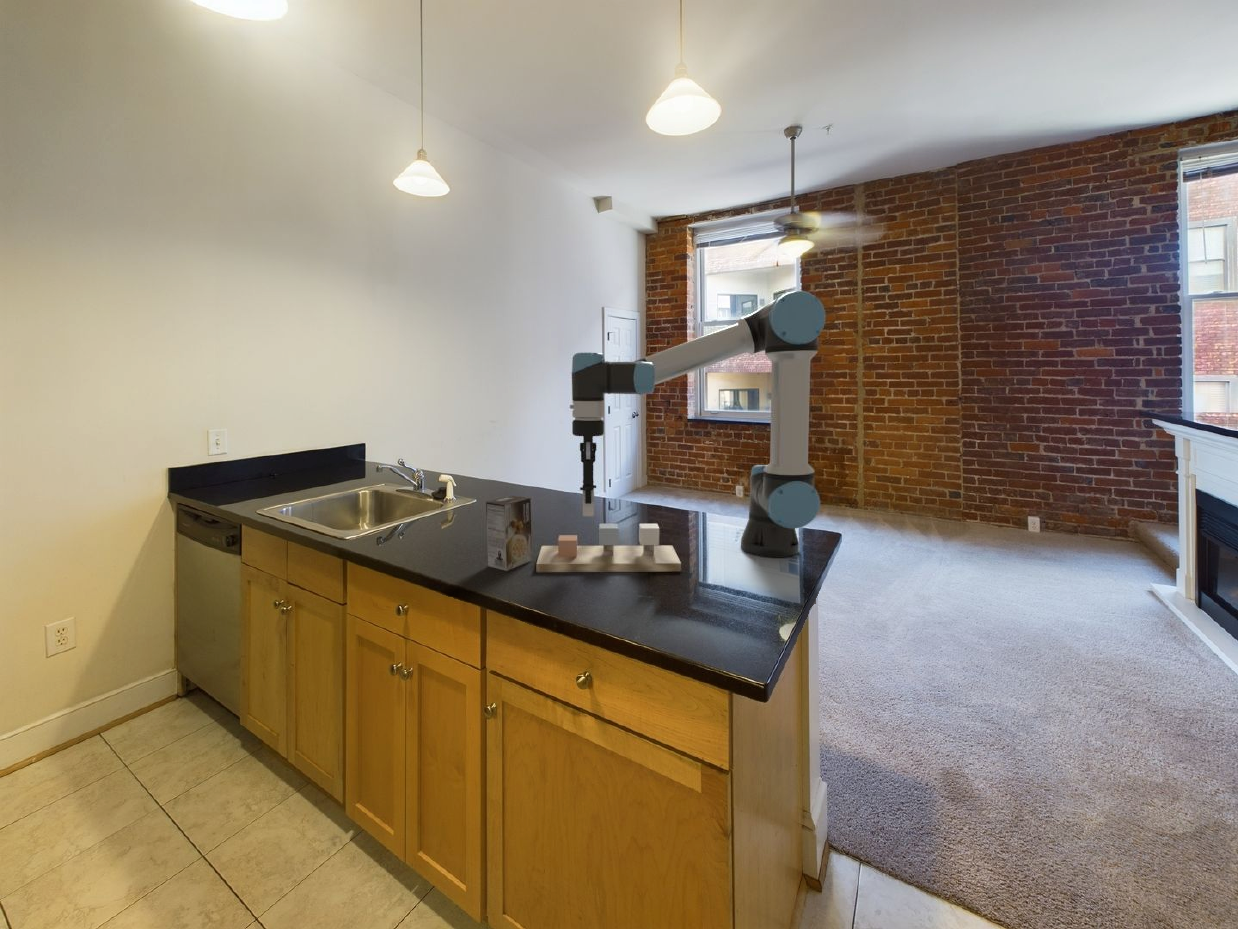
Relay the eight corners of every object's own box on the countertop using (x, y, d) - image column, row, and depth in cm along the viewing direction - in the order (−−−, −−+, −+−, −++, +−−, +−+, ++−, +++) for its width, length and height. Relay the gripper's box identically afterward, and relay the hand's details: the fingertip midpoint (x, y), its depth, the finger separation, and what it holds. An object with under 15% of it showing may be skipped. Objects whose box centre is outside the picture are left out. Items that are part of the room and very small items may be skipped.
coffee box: (513, 556, 136) (512, 494, 133) (532, 561, 132) (531, 497, 130) (486, 566, 128) (485, 501, 126) (506, 571, 125) (505, 504, 122)
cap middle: (617, 539, 134) (617, 523, 133) (618, 545, 130) (618, 528, 129) (599, 539, 134) (599, 523, 133) (599, 545, 129) (599, 528, 129)
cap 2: (656, 539, 135) (657, 523, 134) (658, 545, 130) (659, 528, 130) (638, 539, 134) (639, 523, 134) (640, 545, 130) (640, 528, 129)
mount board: (672, 552, 140) (672, 534, 140) (680, 571, 126) (681, 551, 126) (542, 553, 138) (541, 534, 138) (536, 572, 125) (536, 551, 124)
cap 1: (577, 551, 134) (577, 535, 133) (576, 557, 130) (576, 540, 129) (559, 551, 134) (559, 535, 133) (558, 557, 129) (558, 540, 129)
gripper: (573, 417, 133) (573, 509, 137) (571, 420, 120) (572, 522, 124) (603, 417, 133) (603, 509, 137) (604, 420, 121) (604, 522, 124)
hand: (588, 515), depth 130 cm, fingers closed
